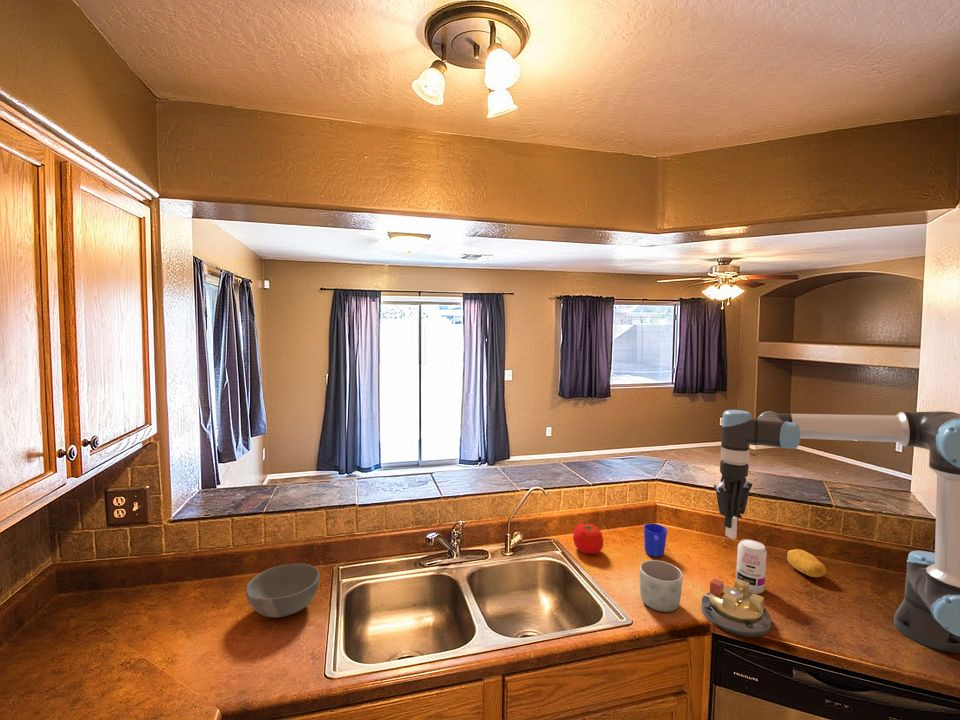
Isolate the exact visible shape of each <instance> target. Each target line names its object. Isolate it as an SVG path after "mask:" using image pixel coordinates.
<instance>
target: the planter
mask: <svg viewBox="0 0 960 720" xmlns="http://www.w3.org/2000/svg"><path fill="white" fill-rule="evenodd" d="M683 577H684V574H683V572H682V571H681V569H680V568H678V567H677V566H675V565H674V564H672V563H670V562H667V561H663V560H657V559H651V560H645V561H643V562H642V563H641V564H640V565H639V591H640V597H641V601H643V603H644V604H645V605H647V607H648V608H650V609H653V610H655V611H657V612H660V613H661V612H662V613H670V612H673V611H675V610H677V608H678V607H679V606H680V603H681V598H682V591H683V590H682V588H683V579H684V578H683Z"/></svg>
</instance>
